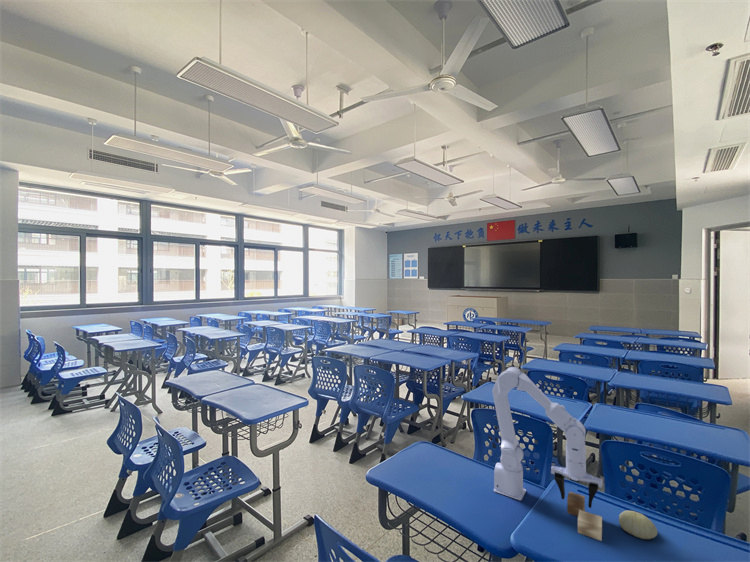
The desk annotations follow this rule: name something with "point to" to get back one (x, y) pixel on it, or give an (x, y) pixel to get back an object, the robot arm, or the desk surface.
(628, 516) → the sea urchin shell
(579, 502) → the walnut block
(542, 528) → the desk surface
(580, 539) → the desk surface
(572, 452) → the robot arm
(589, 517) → the beech base
